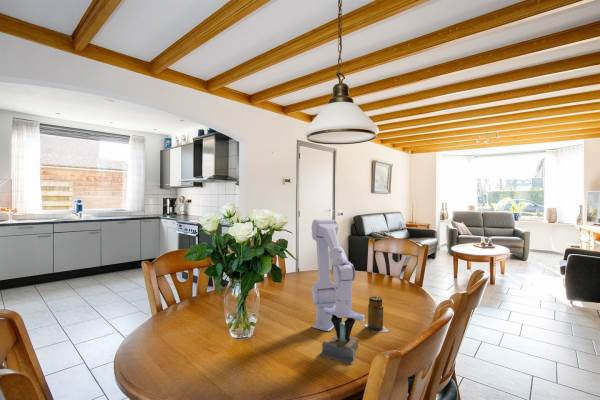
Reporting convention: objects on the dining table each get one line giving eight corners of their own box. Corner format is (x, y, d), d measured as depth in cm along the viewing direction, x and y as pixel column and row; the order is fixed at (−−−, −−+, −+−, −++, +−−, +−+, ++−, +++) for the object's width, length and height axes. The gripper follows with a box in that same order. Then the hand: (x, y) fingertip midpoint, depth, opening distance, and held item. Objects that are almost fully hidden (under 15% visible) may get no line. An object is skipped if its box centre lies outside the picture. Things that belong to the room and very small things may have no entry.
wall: (323, 351, 105) (324, 341, 105) (354, 359, 100) (354, 349, 100) (319, 355, 102) (320, 345, 102) (351, 364, 97) (351, 353, 97)
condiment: (379, 323, 130) (379, 295, 130) (389, 331, 121) (389, 301, 121) (363, 325, 128) (363, 296, 128) (373, 333, 120) (373, 303, 120)
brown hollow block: (336, 342, 112) (336, 333, 112) (358, 348, 108) (358, 338, 108) (327, 352, 105) (328, 342, 105) (350, 358, 101) (350, 347, 101)
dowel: (341, 341, 108) (341, 321, 108) (348, 343, 107) (348, 323, 107) (338, 344, 106) (338, 324, 106) (345, 346, 104) (345, 326, 104)
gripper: (319, 298, 106) (319, 338, 106) (360, 306, 99) (359, 348, 99) (328, 293, 112) (327, 330, 112) (366, 300, 105) (366, 339, 105)
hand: (343, 338), depth 106 cm, fingers closed on dowel, 2 cm apart
